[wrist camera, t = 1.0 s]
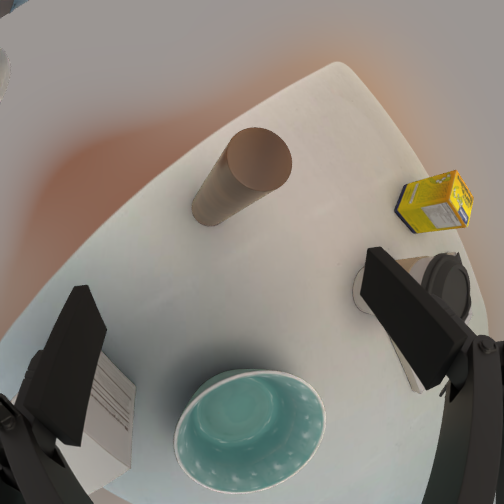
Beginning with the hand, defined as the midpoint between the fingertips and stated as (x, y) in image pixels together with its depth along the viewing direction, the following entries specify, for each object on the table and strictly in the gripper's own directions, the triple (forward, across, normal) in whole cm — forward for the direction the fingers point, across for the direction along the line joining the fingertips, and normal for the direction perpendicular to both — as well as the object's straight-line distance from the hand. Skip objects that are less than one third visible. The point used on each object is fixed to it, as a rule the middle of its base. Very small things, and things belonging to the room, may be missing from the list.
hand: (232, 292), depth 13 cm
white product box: (+8, -17, -16) cm, 25 cm away
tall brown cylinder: (+20, -1, -3) cm, 20 cm away
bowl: (+8, -1, -24) cm, 25 cm away
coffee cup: (+17, +20, -16) cm, 31 cm away
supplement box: (+25, +30, -8) cm, 40 cm away
